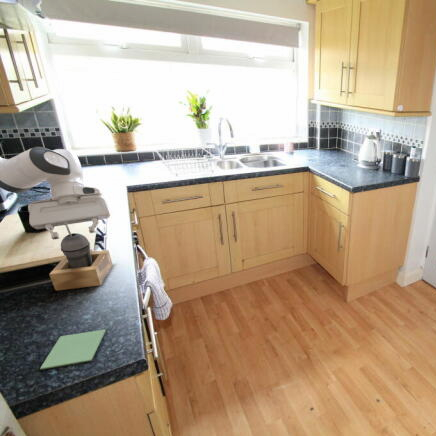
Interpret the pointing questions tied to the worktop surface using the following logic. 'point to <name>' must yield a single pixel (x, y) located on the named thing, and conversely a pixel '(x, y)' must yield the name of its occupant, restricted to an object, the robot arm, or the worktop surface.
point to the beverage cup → (76, 249)
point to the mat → (74, 349)
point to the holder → (82, 272)
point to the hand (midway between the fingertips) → (74, 235)
